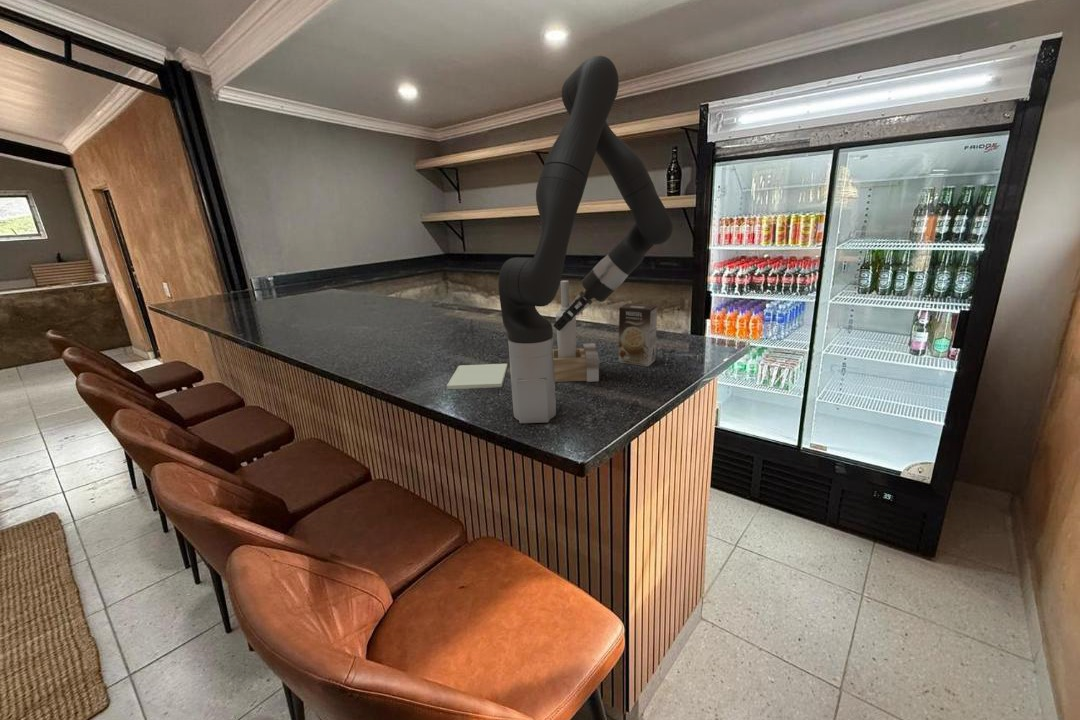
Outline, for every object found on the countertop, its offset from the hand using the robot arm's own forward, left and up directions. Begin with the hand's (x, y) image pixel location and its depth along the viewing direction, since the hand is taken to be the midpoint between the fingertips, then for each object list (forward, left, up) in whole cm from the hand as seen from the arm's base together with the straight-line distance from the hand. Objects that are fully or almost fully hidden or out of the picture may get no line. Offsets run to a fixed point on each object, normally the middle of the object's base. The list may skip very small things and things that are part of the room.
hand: (559, 325), depth 116 cm
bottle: (0, -2, -14) cm, 14 cm away
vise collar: (0, -2, -14) cm, 14 cm away
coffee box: (+9, -22, -14) cm, 27 cm away
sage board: (+1, +22, -14) cm, 26 cm away
